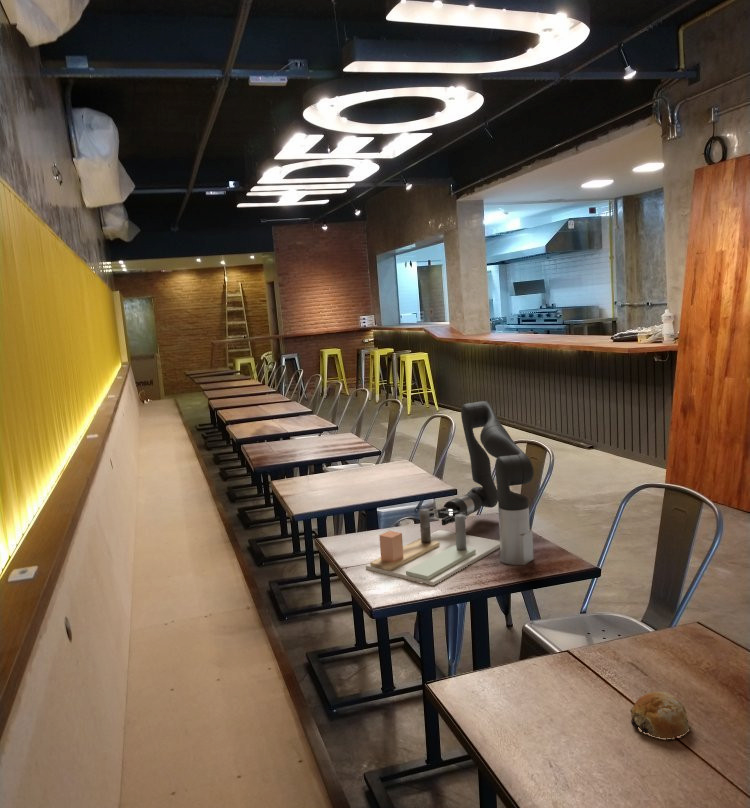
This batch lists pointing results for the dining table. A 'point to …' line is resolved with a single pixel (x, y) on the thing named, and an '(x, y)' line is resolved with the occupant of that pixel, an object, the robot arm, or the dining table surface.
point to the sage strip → (445, 555)
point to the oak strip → (412, 545)
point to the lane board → (446, 541)
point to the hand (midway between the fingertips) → (432, 520)
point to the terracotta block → (391, 546)
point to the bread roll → (660, 715)
